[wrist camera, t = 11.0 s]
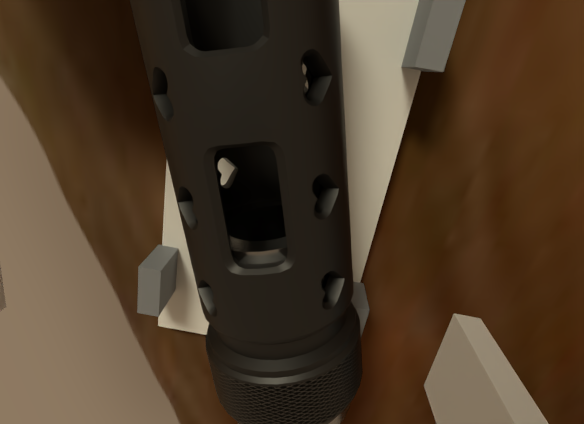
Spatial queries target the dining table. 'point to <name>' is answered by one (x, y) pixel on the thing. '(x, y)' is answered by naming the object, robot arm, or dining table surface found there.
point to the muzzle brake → (262, 196)
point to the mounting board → (359, 142)
